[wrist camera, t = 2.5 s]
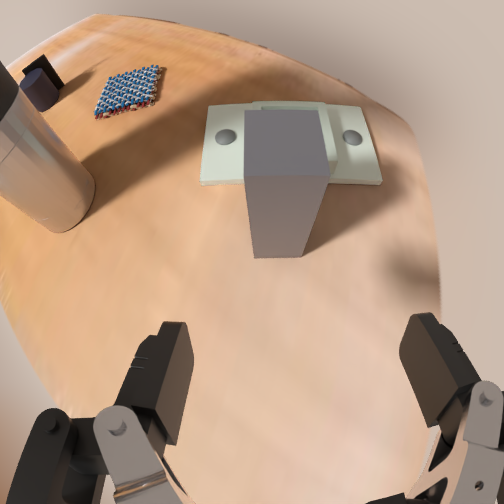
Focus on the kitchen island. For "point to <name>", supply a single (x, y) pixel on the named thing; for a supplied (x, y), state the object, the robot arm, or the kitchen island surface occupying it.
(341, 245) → the kitchen island surface
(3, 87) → the robot arm
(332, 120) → the bracket
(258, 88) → the kitchen island surface
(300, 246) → the tall grey pillar
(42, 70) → the speaker
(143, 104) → the woven mat
